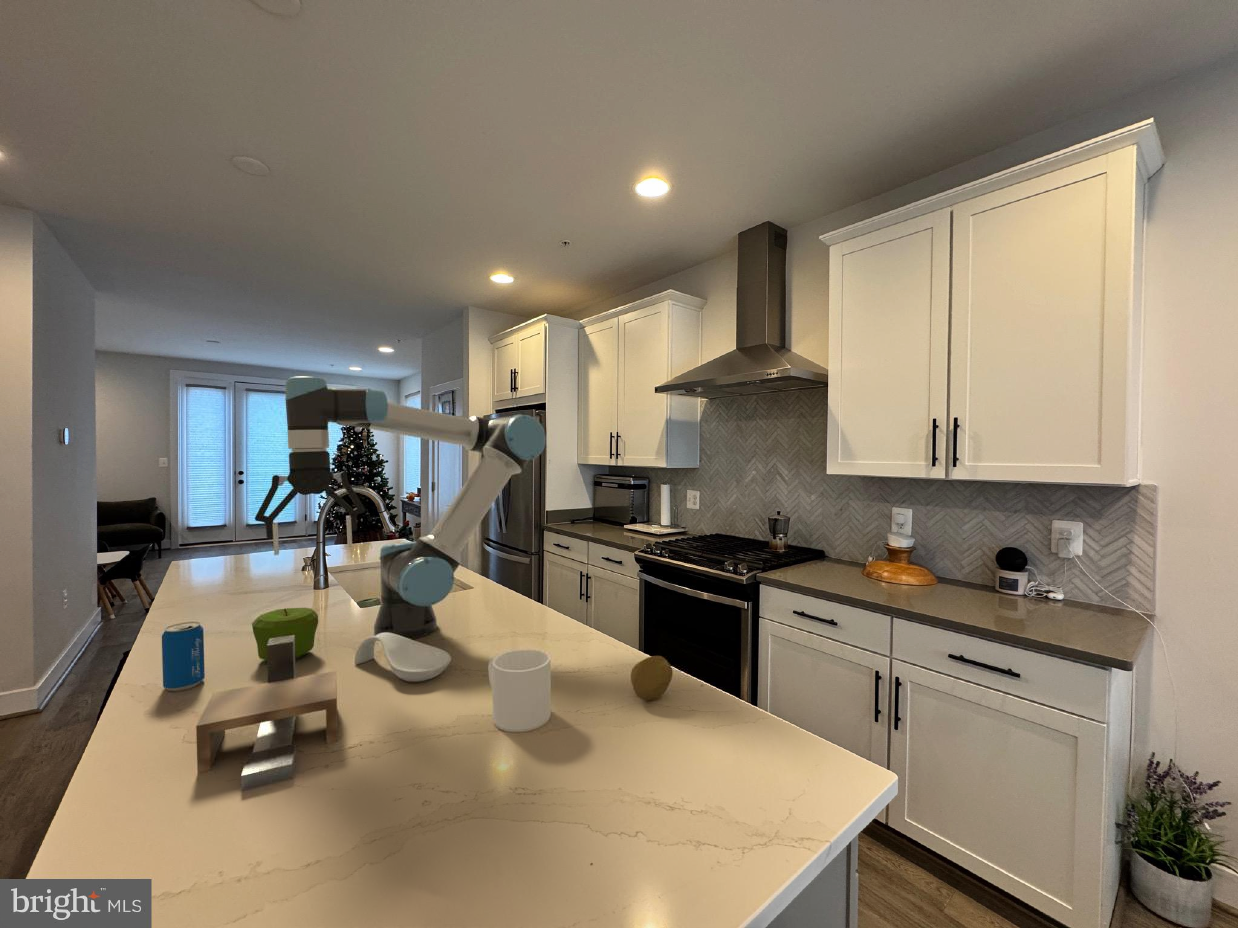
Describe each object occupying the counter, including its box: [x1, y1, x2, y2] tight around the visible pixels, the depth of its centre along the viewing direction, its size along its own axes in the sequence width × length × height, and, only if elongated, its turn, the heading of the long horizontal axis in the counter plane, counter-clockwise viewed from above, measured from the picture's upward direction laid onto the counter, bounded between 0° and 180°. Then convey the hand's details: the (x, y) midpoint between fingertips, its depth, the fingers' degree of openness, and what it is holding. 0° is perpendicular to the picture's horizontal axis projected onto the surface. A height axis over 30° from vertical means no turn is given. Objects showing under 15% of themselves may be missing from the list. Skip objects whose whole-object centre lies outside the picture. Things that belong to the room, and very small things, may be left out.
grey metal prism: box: [252, 635, 297, 753], centre depth 91 cm, size 5×20×12 cm, turn 28°
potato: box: [630, 655, 674, 702], centre depth 100 cm, size 7×8×8 cm
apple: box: [251, 607, 319, 661], centre depth 121 cm, size 12×12×11 cm
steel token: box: [240, 743, 297, 792], centre depth 77 cm, size 6×6×2 cm
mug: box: [487, 648, 552, 733], centre depth 94 cm, size 13×10×10 cm
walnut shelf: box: [195, 670, 338, 774], centre depth 87 cm, size 18×12×7 cm, turn 118°
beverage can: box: [161, 621, 206, 692], centre depth 106 cm, size 6×6×12 cm
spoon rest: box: [354, 632, 452, 683], centre depth 113 cm, size 24×12×7 cm, turn 64°
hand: (314, 549), depth 114 cm, fingers open, 13 cm apart
